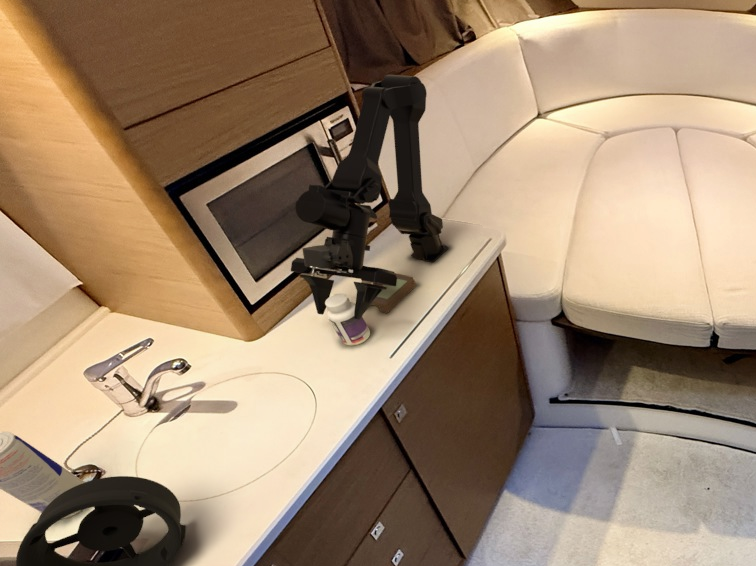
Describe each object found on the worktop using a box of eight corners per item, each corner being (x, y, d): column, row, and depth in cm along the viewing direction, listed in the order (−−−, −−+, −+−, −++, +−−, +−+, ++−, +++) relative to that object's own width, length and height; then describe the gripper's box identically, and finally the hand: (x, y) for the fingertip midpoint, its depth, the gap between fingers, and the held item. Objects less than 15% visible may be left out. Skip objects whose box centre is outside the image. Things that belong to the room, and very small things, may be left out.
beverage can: (106, 488, 80) (24, 431, 69) (74, 522, 76) (-18, 467, 65) (73, 485, 80) (-13, 428, 70) (40, 519, 76) (-57, 464, 66)
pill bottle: (374, 327, 106) (355, 290, 99) (365, 345, 102) (345, 308, 95) (348, 328, 106) (327, 291, 99) (338, 346, 102) (315, 309, 95)
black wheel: (78, 447, 67) (59, 488, 60) (208, 475, 77) (205, 513, 69) (13, 542, 66) (-15, 595, 59) (152, 559, 76) (144, 606, 69)
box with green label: (391, 279, 117) (387, 270, 116) (416, 285, 116) (412, 276, 114) (360, 306, 111) (355, 297, 109) (387, 313, 109) (382, 304, 107)
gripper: (271, 220, 92) (259, 306, 92) (364, 231, 89) (352, 320, 89) (319, 234, 103) (308, 312, 103) (403, 244, 100) (392, 324, 100)
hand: (338, 316), depth 98 cm, fingers open, 8 cm apart
